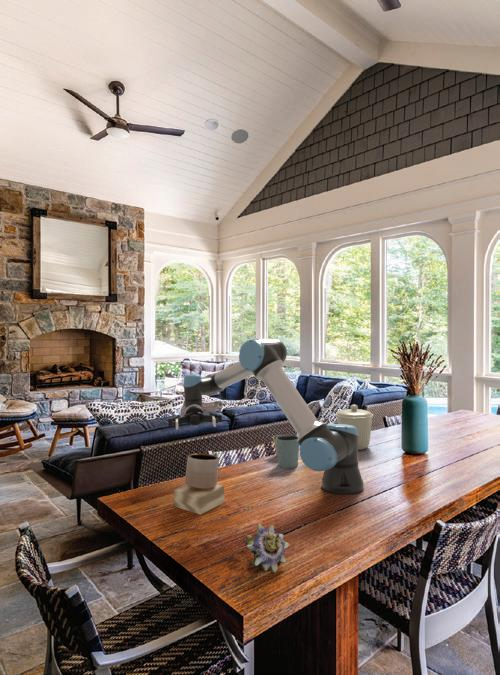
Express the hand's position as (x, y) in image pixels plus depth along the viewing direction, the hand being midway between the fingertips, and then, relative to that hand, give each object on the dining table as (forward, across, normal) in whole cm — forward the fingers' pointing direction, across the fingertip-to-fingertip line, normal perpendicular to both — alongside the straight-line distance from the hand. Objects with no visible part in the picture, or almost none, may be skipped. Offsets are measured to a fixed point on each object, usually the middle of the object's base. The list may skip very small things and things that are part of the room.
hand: (195, 424), depth 160 cm
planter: (+10, 0, -19) cm, 21 cm away
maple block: (+10, 0, -26) cm, 27 cm away
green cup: (-26, -39, -26) cm, 54 cm away
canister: (-46, -78, -26) cm, 94 cm away
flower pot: (-40, -40, -25) cm, 62 cm away
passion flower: (+52, -14, -27) cm, 60 cm away
